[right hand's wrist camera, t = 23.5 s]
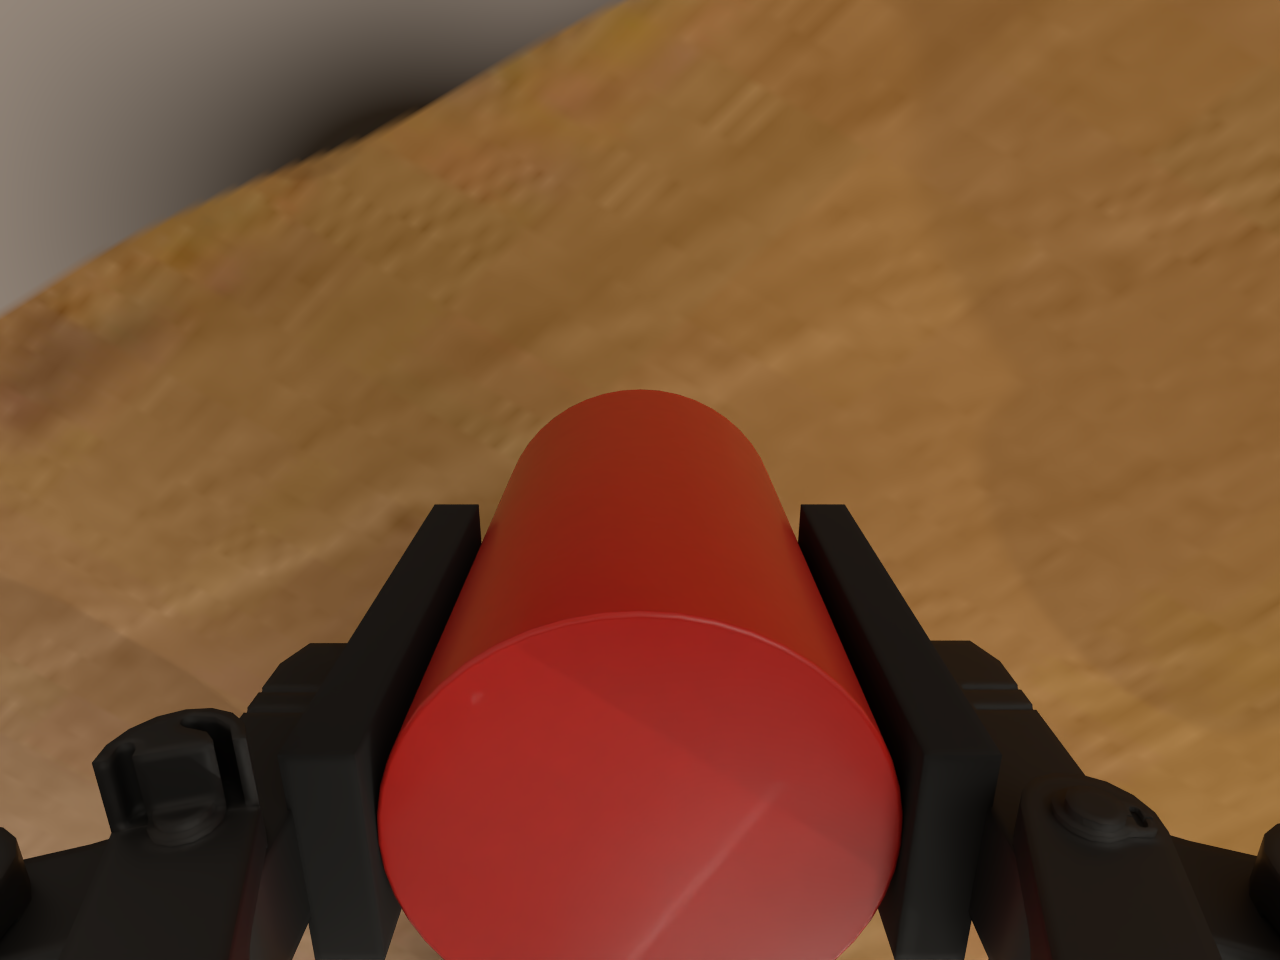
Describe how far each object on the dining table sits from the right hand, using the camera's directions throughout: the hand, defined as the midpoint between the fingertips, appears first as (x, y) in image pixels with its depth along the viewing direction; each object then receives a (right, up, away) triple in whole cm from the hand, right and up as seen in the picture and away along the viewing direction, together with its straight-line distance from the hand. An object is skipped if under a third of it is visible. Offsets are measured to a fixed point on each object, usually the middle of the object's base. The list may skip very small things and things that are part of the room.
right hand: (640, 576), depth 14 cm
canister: (0, +1, +2) cm, 3 cm away
